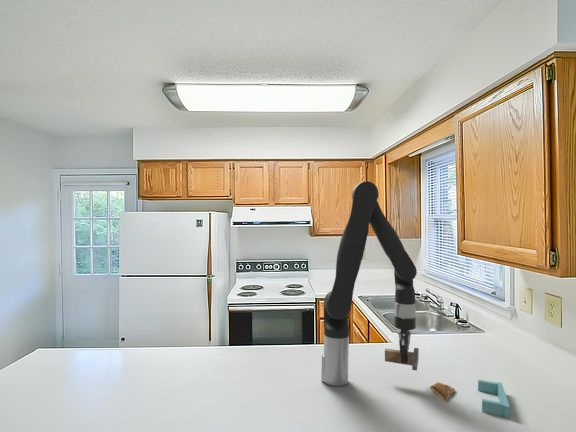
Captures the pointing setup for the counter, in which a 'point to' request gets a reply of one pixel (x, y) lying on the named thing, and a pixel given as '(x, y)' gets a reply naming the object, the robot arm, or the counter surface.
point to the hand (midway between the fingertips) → (404, 361)
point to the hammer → (396, 357)
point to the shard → (442, 390)
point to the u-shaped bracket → (493, 406)
